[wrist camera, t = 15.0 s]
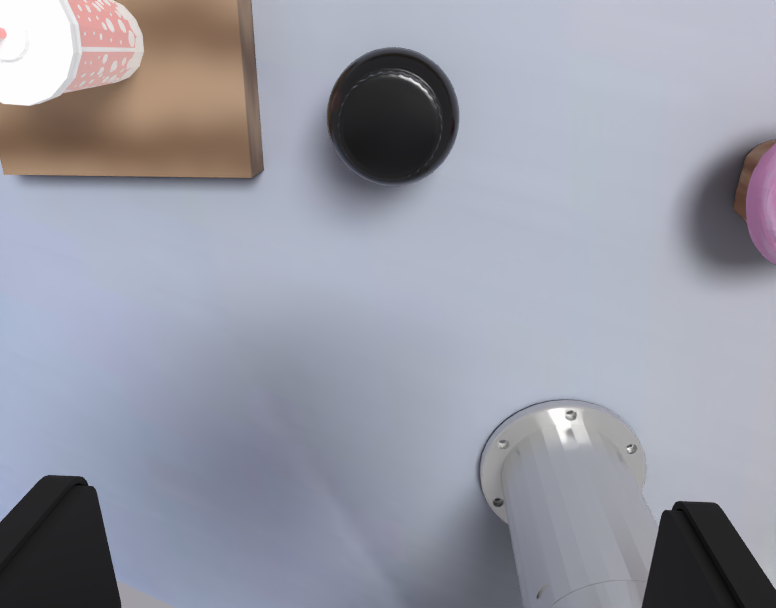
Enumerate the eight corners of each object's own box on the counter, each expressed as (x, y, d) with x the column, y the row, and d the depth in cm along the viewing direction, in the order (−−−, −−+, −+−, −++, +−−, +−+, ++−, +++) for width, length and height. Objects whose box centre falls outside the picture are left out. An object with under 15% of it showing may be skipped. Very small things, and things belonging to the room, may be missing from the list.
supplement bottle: (343, 158, 39) (310, 195, 28) (347, 46, 37) (312, 38, 26) (447, 166, 39) (455, 206, 28) (458, 53, 37) (472, 49, 26)
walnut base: (263, 169, 40) (251, 177, 37) (32, 167, 41) (4, 174, 38) (242, -115, 34) (226, -131, 31) (-28, -111, 35) (-67, -126, 32)
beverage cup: (55, -33, 33) (-178, -94, 21) (162, -2, 34) (0, -42, 21) (50, 80, 36) (-163, 89, 23) (151, 108, 36) (-3, 134, 23)
